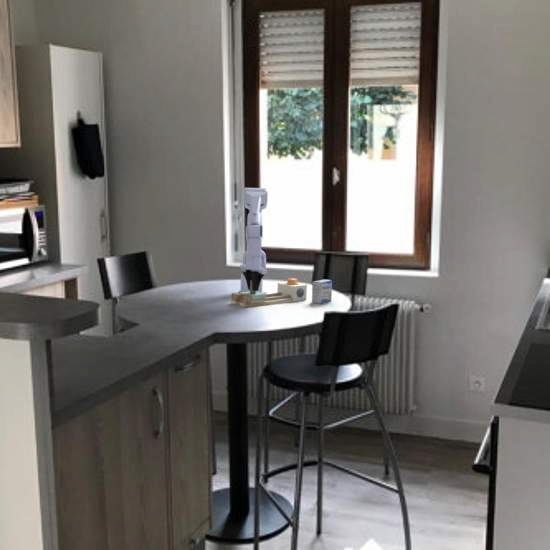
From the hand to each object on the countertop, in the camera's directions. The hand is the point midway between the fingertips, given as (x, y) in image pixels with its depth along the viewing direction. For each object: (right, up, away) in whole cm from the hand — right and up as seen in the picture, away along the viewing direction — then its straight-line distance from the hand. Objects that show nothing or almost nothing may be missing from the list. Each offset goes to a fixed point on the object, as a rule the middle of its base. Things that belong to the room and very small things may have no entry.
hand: (253, 290), depth 291 cm
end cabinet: (+15, -4, +13) cm, 21 cm away
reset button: (+15, -2, +13) cm, 20 cm away
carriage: (0, -3, 0) cm, 3 cm away
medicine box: (+27, -5, +8) cm, 29 cm away
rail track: (+4, -5, +4) cm, 7 cm away
